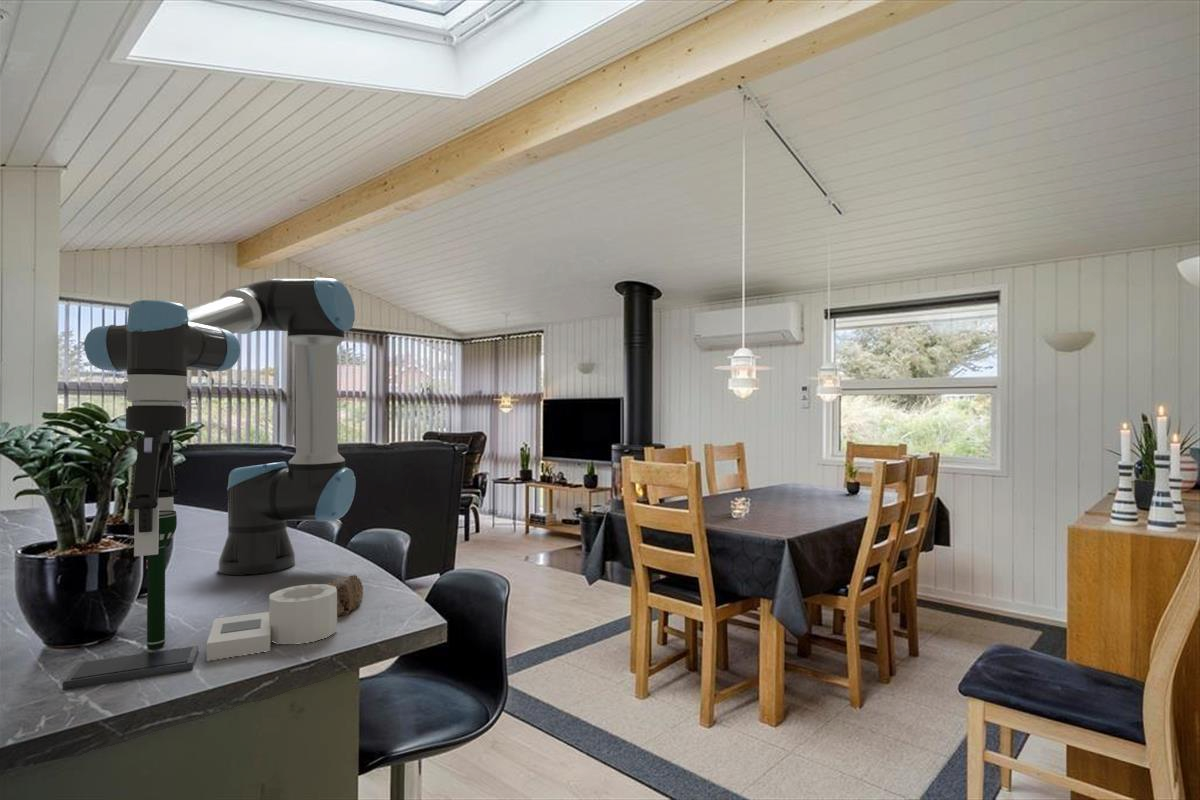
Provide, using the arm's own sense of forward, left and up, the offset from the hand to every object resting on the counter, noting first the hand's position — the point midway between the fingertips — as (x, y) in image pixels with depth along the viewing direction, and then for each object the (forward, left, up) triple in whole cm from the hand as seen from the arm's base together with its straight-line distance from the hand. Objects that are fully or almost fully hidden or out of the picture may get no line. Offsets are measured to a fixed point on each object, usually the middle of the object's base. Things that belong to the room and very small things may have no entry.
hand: (154, 546), depth 96 cm
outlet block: (+4, +16, -15) cm, 22 cm away
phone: (+9, -1, -15) cm, 17 cm away
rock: (-10, +25, -16) cm, 31 cm away
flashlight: (0, 0, -15) cm, 15 cm away
